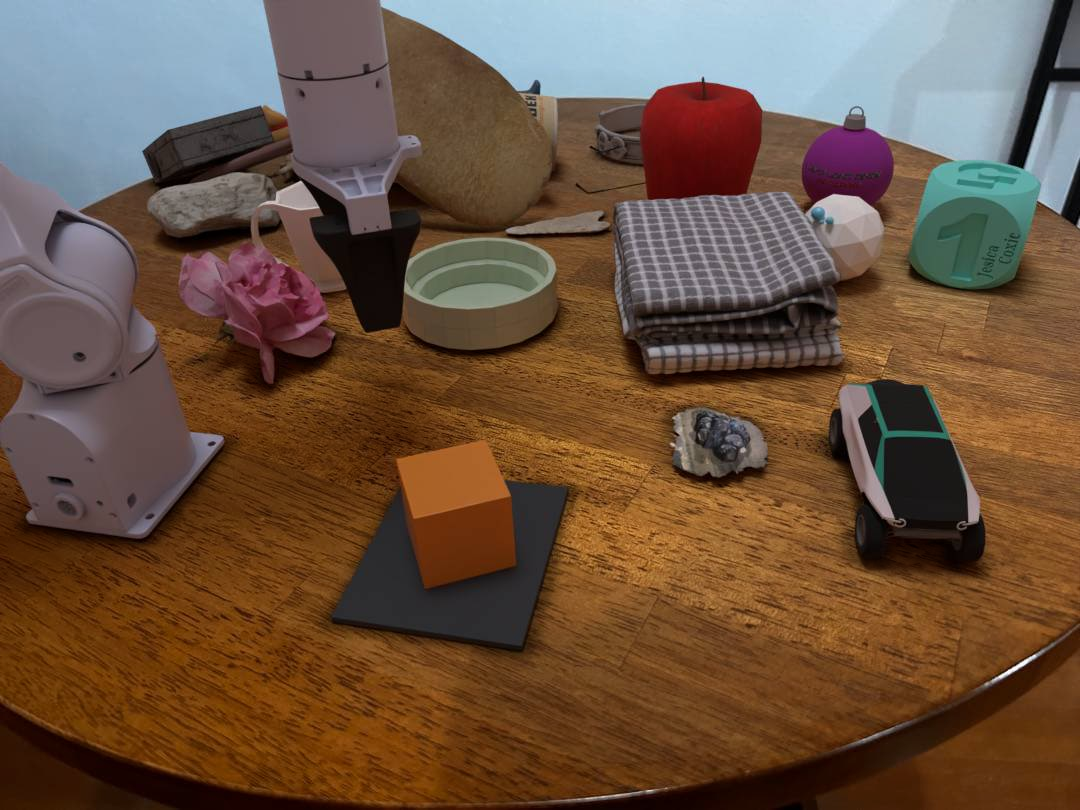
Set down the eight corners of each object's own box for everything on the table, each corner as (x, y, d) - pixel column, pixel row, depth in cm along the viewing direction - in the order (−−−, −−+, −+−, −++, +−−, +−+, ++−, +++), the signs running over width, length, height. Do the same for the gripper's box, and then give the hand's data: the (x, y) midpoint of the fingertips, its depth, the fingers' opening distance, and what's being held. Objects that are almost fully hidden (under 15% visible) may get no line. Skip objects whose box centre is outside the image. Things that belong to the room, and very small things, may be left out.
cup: (357, 302, 73) (341, 210, 68) (246, 296, 74) (222, 206, 70) (384, 264, 78) (371, 178, 74) (280, 260, 80) (260, 174, 75)
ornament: (881, 214, 74) (898, 179, 67) (870, 296, 74) (885, 270, 66) (798, 207, 76) (806, 172, 68) (787, 287, 75) (793, 260, 67)
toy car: (920, 435, 55) (939, 364, 52) (977, 573, 46) (1005, 496, 43) (825, 432, 56) (838, 361, 53) (861, 568, 46) (879, 491, 43)
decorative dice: (902, 279, 72) (923, 186, 68) (918, 241, 78) (938, 154, 74) (1008, 298, 69) (1038, 202, 65) (1016, 257, 75) (1044, 166, 70)
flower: (345, 354, 72) (380, 284, 65) (259, 426, 66) (287, 357, 58) (241, 263, 72) (264, 181, 64) (145, 325, 66) (159, 243, 58)
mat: (522, 651, 43) (521, 646, 42) (331, 622, 45) (330, 616, 44) (568, 492, 52) (568, 487, 52) (410, 473, 54) (409, 468, 54)
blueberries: (688, 495, 52) (690, 470, 50) (638, 419, 58) (639, 395, 57) (791, 471, 53) (795, 446, 52) (731, 399, 59) (733, 376, 58)
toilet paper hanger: (363, 105, 101) (398, 83, 89) (392, 175, 104) (430, 163, 91) (182, 172, 94) (194, 158, 81) (219, 245, 96) (235, 242, 84)
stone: (346, -50, 86) (352, -7, 92) (240, 47, 82) (254, 87, 88) (589, 126, 83) (581, 160, 89) (493, 236, 79) (490, 264, 85)
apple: (630, 244, 80) (634, 91, 72) (646, 201, 88) (651, 59, 80) (749, 252, 77) (766, 95, 70) (754, 207, 85) (770, 62, 78)
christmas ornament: (891, 202, 86) (912, 98, 80) (875, 234, 80) (897, 124, 74) (807, 190, 89) (822, 89, 83) (786, 220, 83) (800, 114, 77)
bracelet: (656, 174, 93) (657, 147, 92) (567, 146, 102) (567, 120, 100) (735, 142, 101) (738, 116, 99) (647, 118, 109) (648, 94, 108)
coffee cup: (558, 154, 89) (440, 152, 88) (552, 192, 98) (444, 190, 97) (557, 70, 91) (441, 67, 90) (551, 115, 100) (445, 113, 99)
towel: (780, 259, 76) (792, 172, 71) (846, 375, 61) (866, 273, 56) (605, 267, 76) (606, 180, 71) (628, 385, 61) (630, 284, 56)
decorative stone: (209, 261, 80) (194, 209, 77) (136, 237, 85) (120, 187, 82) (307, 214, 88) (297, 166, 85) (236, 194, 93) (224, 148, 90)
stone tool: (602, 213, 86) (502, 225, 85) (602, 205, 85) (501, 217, 84) (615, 233, 82) (510, 246, 81) (615, 225, 82) (510, 237, 80)
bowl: (538, 361, 64) (536, 314, 62) (382, 348, 67) (375, 302, 64) (570, 285, 74) (569, 241, 72) (432, 276, 76) (427, 233, 74)
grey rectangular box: (236, 162, 103) (152, 186, 98) (223, 128, 102) (137, 152, 97) (277, 142, 89) (181, 169, 85) (262, 103, 88) (164, 129, 84)
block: (516, 566, 47) (511, 495, 44) (424, 589, 46) (413, 518, 43) (492, 507, 51) (486, 438, 48) (407, 527, 50) (395, 458, 47)
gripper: (437, 92, 41) (463, 342, 48) (386, 29, 52) (414, 240, 60) (283, 112, 39) (335, 367, 47) (265, 42, 50) (310, 257, 58)
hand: (372, 297), depth 53 cm, fingers open, 7 cm apart
